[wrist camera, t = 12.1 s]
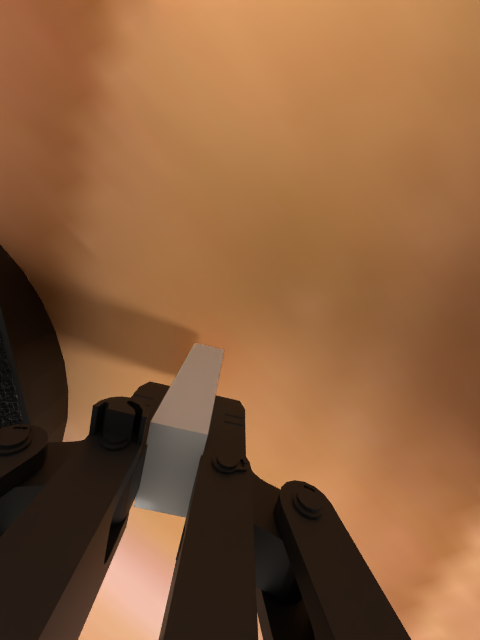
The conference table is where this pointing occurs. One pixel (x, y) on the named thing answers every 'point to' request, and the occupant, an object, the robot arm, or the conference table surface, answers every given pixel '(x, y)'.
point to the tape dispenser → (29, 357)
